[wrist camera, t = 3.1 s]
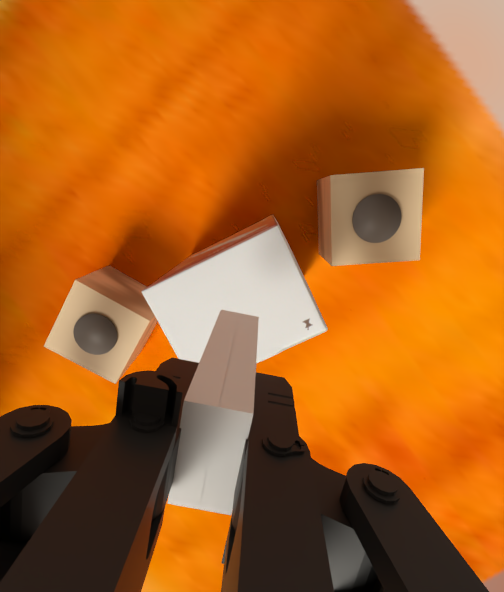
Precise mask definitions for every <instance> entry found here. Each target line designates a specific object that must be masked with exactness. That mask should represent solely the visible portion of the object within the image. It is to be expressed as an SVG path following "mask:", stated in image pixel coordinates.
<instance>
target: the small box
mask: <svg viewBox="0 0 504 592" xmlns="http://www.w3.org/2000/svg"><path fill="white" fill-rule="evenodd" d="M141 292H142V294H143V296H144V298H145V299H146V301H147V303H148V305H149V306H150V308H151V310H152V312H153V313H154V315H155V317H156V319H157V321H158V322H159V324H160V326H161V328H162V330H163V332H164V333H165V335H166V337H167V339H168V341H169V342H170V344H171V346H172V348H173V349H174V351H175V353H176V355H177V357H178V358H179V359H182V360H187V361H192V362H197V363H199V362H200V360H201V357H202V355H203V352H204V350H205V347H206V345H207V343H208V340H209V338H210V335H211V333H212V330H213V328H214V325H215V323H216V320H217V318H218V315H219V313H220V311H221V310H226V311H231V312H237V313H242V314H247V315H252V316H257V317H259V322H258V340H257V358H256V363H259V362H261V361H263V360H266V359H268V358H270V357H272V356H274V355H276V354H278V353H280V352H282V351H284V350H286V349H288V348H290V347H292V346H295V345H297V344H299V343H301V342H304V341H306V340H308V339H310V338H312V337H315V336H317V335H319V334H321V333H324V332H325V331H327V330H328V328H327V326H326V324H325V322H324V320H323V317H322V315H321V313H320V311H319V308H318V306H317V304H316V302H315V300H314V297H313V295H312V293H311V291H310V288H309V286H308V284H307V282H306V280H305V278H304V276H303V273H302V271H301V269H300V267H299V265H298V263H297V261H296V258H295V256H294V254H293V252H292V250H291V248H290V246H289V244H288V242H287V240H286V238H285V236H284V234H283V232H282V230H281V228H280V226H279V224H278V222H277V220H276V218H275V217H274V215H270V216H268V217H266V218H265V219H263V220H261V221H259V222H257V223H255V224H253V225H251V226H250V227H247V228H245V229H243V230H241V231H239V232H238V233H236V234H234V235H232V236H230V237H228V238H226V239H223V240H221V241H219V242H217V243H215V244H213V245H211V246H209V247H207V248H205V249H203V250H201V251H199V252H197V253H194V254H192V255H191V256H189V257H188V258H187V259H185V260H184V261H183V262H181V263H180V264H179V265H177V266H176V267H174V268H173V269H172V270H170V271H169V272H168V273H166V274H165V275H163V276H162V277H161V278H159V279H158V280H156V281H155V282H154V283H152V284H151V285H149V286H148V287H146V288H145V289H143V290H142V291H141Z"/></svg>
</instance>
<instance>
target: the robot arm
mask: <svg viewBox="0 0 504 592" xmlns="http://www.w3.org/2000/svg"><path fill="white" fill-rule="evenodd" d="M258 322H259V317H257V316H252V315H247V314H242V313H237V312H231V311H226V310H221V311H220V313H219V315H218V318H217V320H216V323H215V325H214V328H213V330H212V333H211V335H210V338H209V340H208V343H207V345H206V347H205V350H204V352H203V355H202V357H201V360H200V362H199V363H197V362H192V361H187V360H182V359H177V358H171V359H169V360H167V361H165V362H163V363H161V364H160V366H159V367H158V369H157V371H140V372H135V373H132V374H129V375H126V376H125V377H123V378H122V379H121V380H119V388H118V397H117V407H116V416H115V417H114V418H113V420H112V421H111V423H108V424H104V425H96V426H73V427H71V418H70V416H69V414H68V413H67V412H66V411H64V410H62V409H61V408H58V407H54V406H49V405H33V406H28V407H23V408H19V409H16V410H14V411H11V412H9V413H7V414H5V415H3V416H1V417H0V592H141V589H142V586H143V583H144V580H145V577H146V574H147V570H148V567H149V564H150V561H151V558H152V555H153V551H154V548H155V545H156V542H157V539H158V536H159V532H160V529H161V526H162V521H163V515H164V508H165V504H166V501H167V498H168V504H173V505H178V506H184V507H189V508H195V509H200V510H205V511H211V512H216V513H222V514H227V515H231V514H232V518H231V523H230V527H229V532H228V536H227V541H226V545H225V550H224V554H223V559H222V563H223V564H224V571H223V580H222V588H221V592H489V591H488V590H487V588H486V587H485V586H484V584H483V583H482V582H481V581H480V579H479V578H478V577H477V575H476V574H475V573H474V571H473V570H472V569H471V567H470V566H469V565H468V564H467V562H466V561H465V560H464V558H463V557H462V556H461V554H460V553H459V552H458V550H457V549H456V548H455V547H454V545H453V544H452V543H451V541H450V540H449V539H448V537H447V536H446V535H445V533H444V532H443V531H442V530H441V528H440V527H439V526H438V524H437V523H436V522H435V520H434V519H433V518H432V516H431V515H430V514H429V513H428V511H427V510H426V509H425V507H424V506H423V505H422V503H421V502H420V501H419V499H418V498H417V497H416V496H415V494H414V493H413V492H412V490H411V489H410V488H409V487H408V486H407V485H406V484H405V483H404V482H403V481H402V480H401V479H400V478H399V477H398V476H396V475H395V474H393V473H392V472H390V471H389V470H386V469H384V468H382V467H379V466H377V465H372V464H366V463H362V464H356V465H354V466H352V467H351V468H350V469H349V470H348V472H347V475H346V476H345V475H342V474H340V473H338V472H335V471H333V470H331V469H328V468H326V467H324V466H322V465H321V464H319V463H317V462H316V461H315V460H313V459H312V458H311V456H310V451H309V449H308V446H307V444H306V443H305V442H304V441H303V440H302V439H301V437H300V436H299V433H298V426H297V419H296V412H295V408H294V406H295V405H294V399H293V392H292V387H291V386H290V384H289V383H288V382H287V381H286V379H285V378H282V377H277V376H272V375H267V374H262V373H256V358H257V340H258ZM168 495H169V497H168ZM232 509H233V510H232Z"/></svg>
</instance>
